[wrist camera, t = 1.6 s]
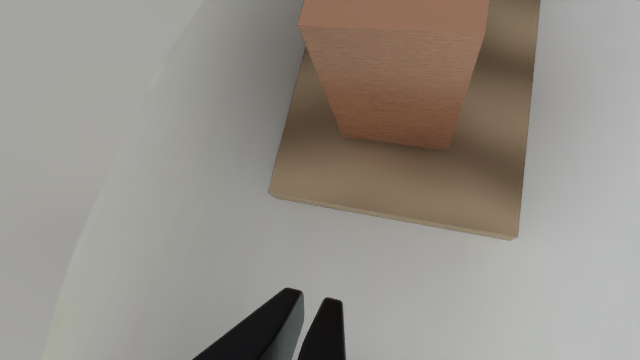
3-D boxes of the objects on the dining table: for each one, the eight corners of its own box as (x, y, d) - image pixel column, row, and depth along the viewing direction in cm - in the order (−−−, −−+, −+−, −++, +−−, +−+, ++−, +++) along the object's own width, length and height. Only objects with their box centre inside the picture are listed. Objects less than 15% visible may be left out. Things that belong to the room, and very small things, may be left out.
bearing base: (509, 240, 20) (608, 195, 11) (275, 198, 24) (186, 135, 14) (540, -64, 25) (627, -290, 15) (341, -61, 29) (308, -241, 19)
